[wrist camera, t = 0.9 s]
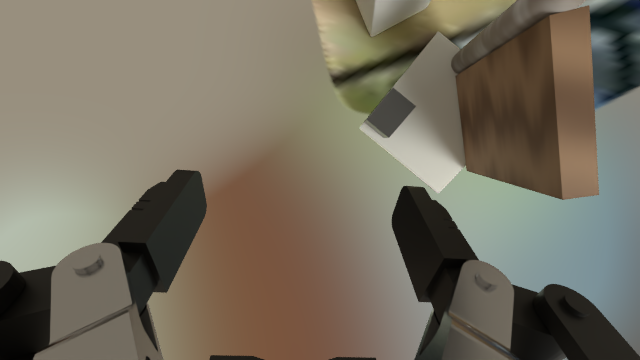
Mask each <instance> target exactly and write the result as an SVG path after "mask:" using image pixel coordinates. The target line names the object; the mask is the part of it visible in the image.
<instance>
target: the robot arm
mask: <svg viewBox="0 0 640 360" xmlns="http://www.w3.org/2000/svg"><path fill="white" fill-rule="evenodd" d="M206 207H207V204H206V198H205V193H204V188H203V183H202V177H201V174H200V172H199V171H190V170H176V171H175V172H174V173H173V174H172V175H171V177H170V178H169V179H168V180H167V181H166V182H160V183H158V184H156V185H155V186H153V187H151V188H150V189H148V190H147V191H146V192H145V194H144V195H143V196H142V197H141V198H140V199H139V202H136V204H135V205H134V206H133V207H132V210H130V211H129V212H128V213H127V214H126V215H125V216H124V217H123V218H122V220H121V221H120V222H119V223H118V224H117V225H116V226H115V228H114V229H113V230H112V231H111V232H110V233H109V234H108V235H107V237H106V238H105V239H104V240H103V241H102V242H101V243H96V244H92V245H89V246H85V247H83V248H80V249H79V250H76V251H74V252H72V253H71V254H69V255H68V256H66V257H65V258H64V259H62V260H61V261H60V262H59V263H58V265H57V266H52V267H47V268H42V269H37V270H31V271H26V272H21V273H19V272H18V271H17V270H16V269H15V268H14V267H13V266H12V265H11V264H10V263H8V262H5V261H0V360H164V359H163V356H162V353H161V349H160V345H159V341H158V338H157V334H156V330H155V327H154V323H153V320H152V316H151V312H150V308H149V305H148V303H147V302H148V300H149V298H150V296H151V295H152V293H153V292H167V291H168V289H169V287H170V285H171V283H172V281H173V279H174V277H175V275H176V273H177V271H178V269H179V267H180V265H181V263H182V261H183V259H184V257H185V255H186V253H187V251H188V249H189V247H190V245H191V243H192V241H193V239H194V237H195V235H196V233H197V231H198V229H199V227H200V225H201V223H202V221H203V219H204V217H205V214H206ZM392 228H393V231H394V234H395V237H396V240H397V242H398V245H399V248H400V251H401V253H402V256H403V259H404V262H405V265H406V268H407V271H408V273H409V276H410V279H411V282H412V284H413V287H414V290H415V293H416V296H417V299H418V301H419V302H431V303H432V306H433V308H434V309H433V311H432V312H431V314H430V317H429V320H428V323H427V325H426V328H425V331H424V334H423V337H422V340H421V342H420V345H419V348H418V351H417V353H416V356H415V359H414V360H563V359H564V358H566V357H567V359H568V360H640V356H639V355H638V354H637V353H636V352H635V351H634V350H633V348H632V347H631V346H630V345H629V344H628V343H627V342H626V341H625V339H624V338H623V337H622V336H621V335H620V334H619V332H618V331H617V330H616V329H615V328H614V327H613V326H612V325H611V323H610V322H609V321H608V320H607V319H606V318H605V317H604V315H603V314H602V313H601V312H600V311H599V310H598V309H597V308H596V307H595V306H594V305H593V304H592V303H591V302H590V301H589V300H588V299H586V298H585V297H584V296H582V295H581V294H579V293H577V292H576V291H574V290H572V289H569V288H568V287H565V286H561V285H557V284H550V285H547V286H546V287H545V288H544V289H543V290H542V291H541V292H539V293H537V292H534V291H531V290H528V289H524V288H522V287H518V286H515V285H512V284H511V282H510V281H509V280H508V278H507V277H506V276H505V275H504V274H503V273H502V272H501V271H499V270H498V269H497V268H495V267H494V266H492V265H490V264H488V263H485V262H482V261H479V259H478V258H477V256H476V255H475V253H474V252H473V250H472V249H471V247H470V246H469V244H468V243H467V241H466V239H465V238H464V236H463V235H462V233H461V232H460V230H459V229H458V227H457V225H456V224H455V222H454V221H452V218H451V216H450V215H449V213H448V212H447V210H446V209H445V208H444V207H443V206H442V205H441V204H439V203H438V202H437V201H436V200H432V199H431V198H430V196H429V195H428V193H427V191H426V190H425V188H423V187H413V186H404V187H403V188H402V189H401V192H400V195H399V197H398V200H397V203H396V206H395V209H394V212H393V215H392ZM210 360H263V359H260V358H257V357H254V356H217V355H216V356H215V355H212V356H210ZM329 360H376V358H355V357H353V358H351V357H336V358H333V359H329Z"/></svg>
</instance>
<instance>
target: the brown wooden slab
mask: <svg viewBox="0 0 640 360" xmlns="http://www.w3.org/2000/svg"><path fill="white" fill-rule="evenodd" d="M585 1H586V0H517V1H516V2H515V3H513V4H512V5H511V6H510V7H509V8H508V9H507V10H505V11H504V12H503V13H502V14H501V15H500V16H499V17H498V18H496V19H495V20H494V21H493V22H492V23H491V24H490V25H488V26H487V27H486V28H485V29H484V30H483V31H482V32H480V33H479V34H478V35H477V36H476V37H475V38H474V39H472V40H471V41H470V42H469V43H468V44H467V45H466V46H464V47H463V48H462V49H461V50H460V51H459V52H458V53H456V54H455V55H454V57H453V58H452V61H451V67H452V69H453V71H454V72H455V73H457V74H458V75H457V76H455V77H456V86H457V94H458V102H459V111H460V119H461V127H462V136H463V144H464V152H465V161H466V168H467V171H469V172H473V173H476V174H479V175H482V176H486V177H489V178H492V179H496V180H499V181H502V182H506V183H509V184H513V185H516V186H519V187H522V188H526V189H529V190H532V191H535V192H539V193H542V194H545V195H549V196H552V197H555V198H559V199H562V200H564V199H571V198H579V197H586V196H594V195H599V187H598V167H597V148H596V129H595V109H594V90H593V71H592V51H591V32H590V13H589V6H585V7H581V8H577V7H578V6H580V5H581V4H582V3H583V2H585ZM575 8H577V9H575Z"/></svg>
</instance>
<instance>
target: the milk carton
mask: <svg viewBox="0 0 640 360" xmlns="http://www.w3.org/2000/svg"><path fill="white" fill-rule="evenodd" d="M430 1H431V0H356V3H357V5H358V8H359V10H360V12H361V15H362V17H363V20H364V22H365V24H366V27H367V29H368V32H369V34H370V36H371V37H373V36H375V35H377V34H379V33H381V32H383V31H385V30H387V29H388V28H390V27H392V26H394V25H396V24H398V23H400V22H401V21H403V20H405V19H407V18H409V17H411V16H413V15H415V14H416V13H418V12H420V11H422V10H424V9H425V8H427V7H428V5H429V3H430Z"/></svg>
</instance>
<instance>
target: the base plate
mask: <svg viewBox="0 0 640 360" xmlns="http://www.w3.org/2000/svg"><path fill="white" fill-rule="evenodd" d="M460 50H461V49H460V48H458V47H457V46H456V45H455V44H453V43H452V42H451V41H450V40H448V39H447V38H446V37H445V36H444V35H442V34H441V33H440V32H439V31H438V32H437V33H436V35H435V36H434V37H433V38H432V40H431V41H430V42H429V43H428V44H427V46H426V47H425V48H424V49H423V51H422V52H421V53H420V54H419V55H418V57H417V58H416V59H415V60H414V61H413V63H412V64H411V65H410V66H409V68H408V69H407V70H406V71H405V72H404V74H403V75H402V76H401V77H400V79H399V80H398V81H397V82H396V83H395V85H394V86H393V87H392V88H391V90H390V91H389V92H388V93H387V94H386V96H385V97H384V98H383V99H382V101H381V102H380V103H379V104H378V105H377V107H376V108H375V109H374V110H373V112H372V113H371V114H370V115H369V116H368V118H367V119H366V120H365V121H364V123H363V124H362V125H361V126H360V127H359V129H360V130H361V131H363V132H364V133H365V134H366V135H367V136H368V137H370V138H371V139H372V140H374V141H375V142H376V143H377V144H378V145H379V146H381V147H382V148H383V149H384V150H386V151H387V152H388V153H389V154H390V155H392V156H393V157H394V158H395V159H396V160H398V161H399V162H400V163H401V164H403V165H404V166H405V167H406V168H407V169H409V170H410V171H411V172H412V173H413V174H415V175H416V176H417V177H418V178H420V179H421V180H422V181H423V182H425V183H426V184H427V185H428V186H429V187H430V188H432V189H433V190H434V191H435V192H437V193H439V192H440V191H441V190H442V189H443V188H444V187H445V186H446V185H447V184H448V183H449V182H450V181H451V180H452V179H453V178H454V177H455V176H456V175H457V174H458V173H459V172H460V170H462V168H464V167H465V166H466V161H465V152H464V144H463V136H462V127H461V119H460V111H459V102H458V94H457V86H456V77H455V76H457V75H458V74H457V73H455V72H454V71H453V69H452V67H451V61H452V58H453V57H454V55H455V54H456V53H458V52H459V51H460Z"/></svg>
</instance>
